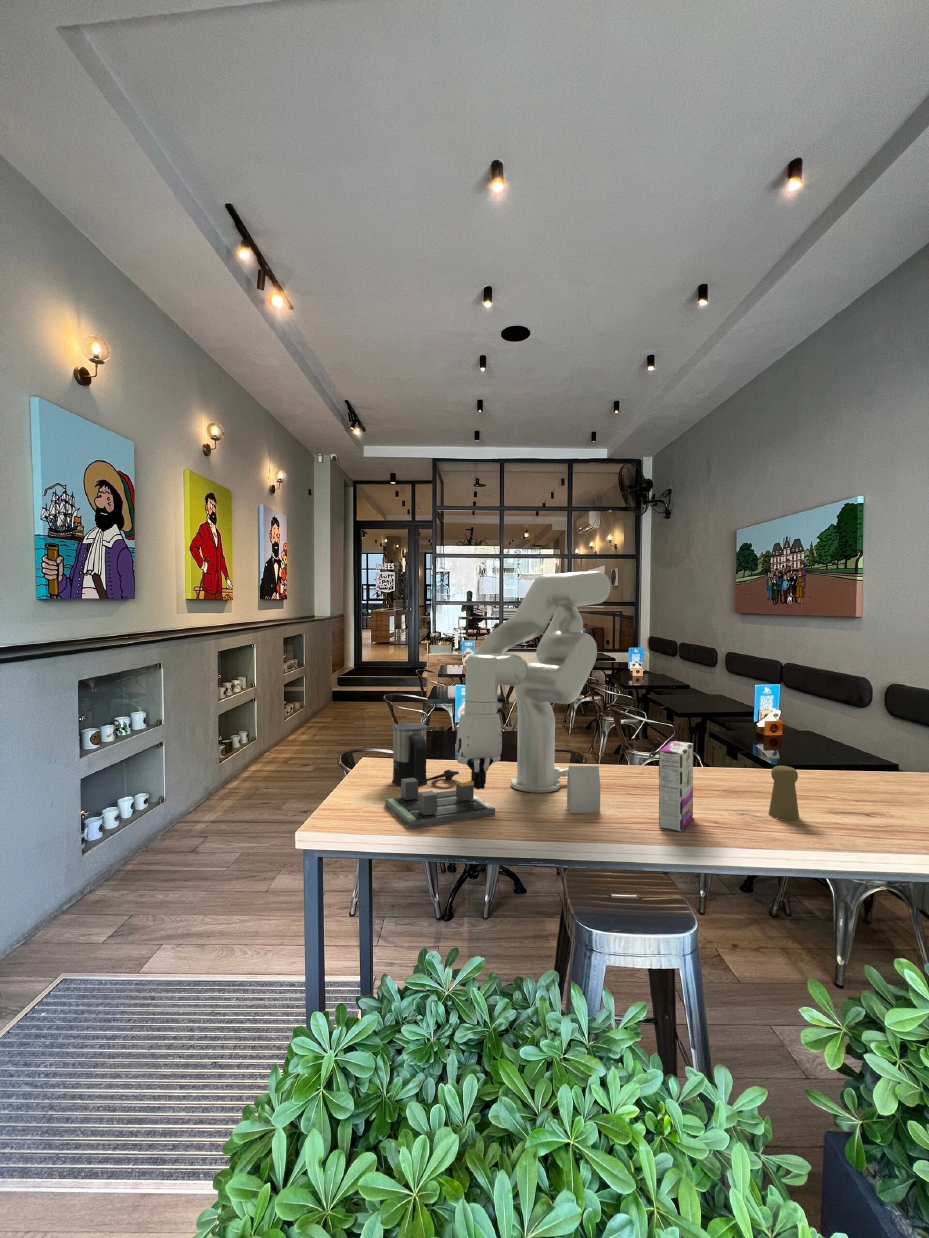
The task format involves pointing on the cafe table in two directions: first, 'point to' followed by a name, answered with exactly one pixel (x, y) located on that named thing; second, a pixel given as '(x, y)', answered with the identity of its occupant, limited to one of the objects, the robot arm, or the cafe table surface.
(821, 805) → the cafe table surface
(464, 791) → the block
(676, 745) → the candy bar box
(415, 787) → the block
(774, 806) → the cork
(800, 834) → the cafe table surface
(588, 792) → the grey boxy piece
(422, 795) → the breaker near
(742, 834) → the cafe table surface
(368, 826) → the cafe table surface
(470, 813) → the panel
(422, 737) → the milk frother
